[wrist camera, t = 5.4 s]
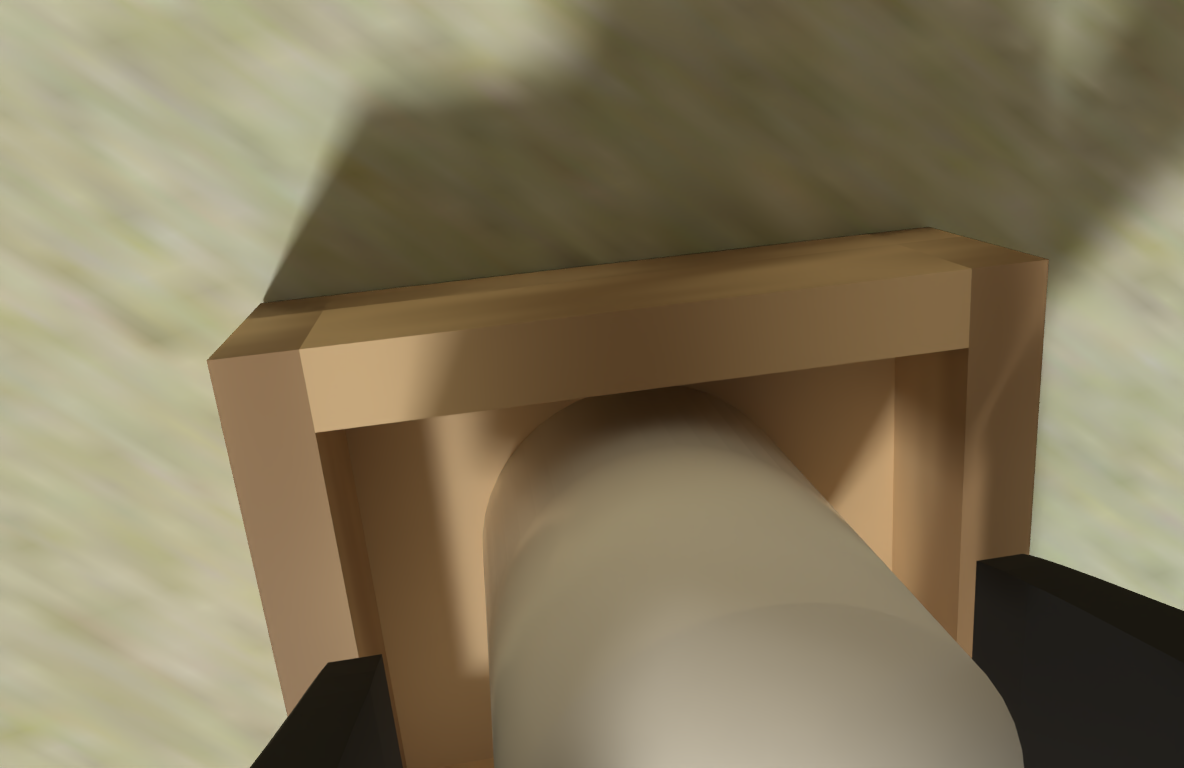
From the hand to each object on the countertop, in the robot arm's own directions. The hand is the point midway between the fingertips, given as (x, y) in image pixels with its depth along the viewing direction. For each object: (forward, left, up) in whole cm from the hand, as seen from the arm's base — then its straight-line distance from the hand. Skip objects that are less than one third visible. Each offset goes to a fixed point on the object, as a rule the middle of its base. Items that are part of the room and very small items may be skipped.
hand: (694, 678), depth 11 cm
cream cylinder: (0, 0, -3) cm, 3 cm away
